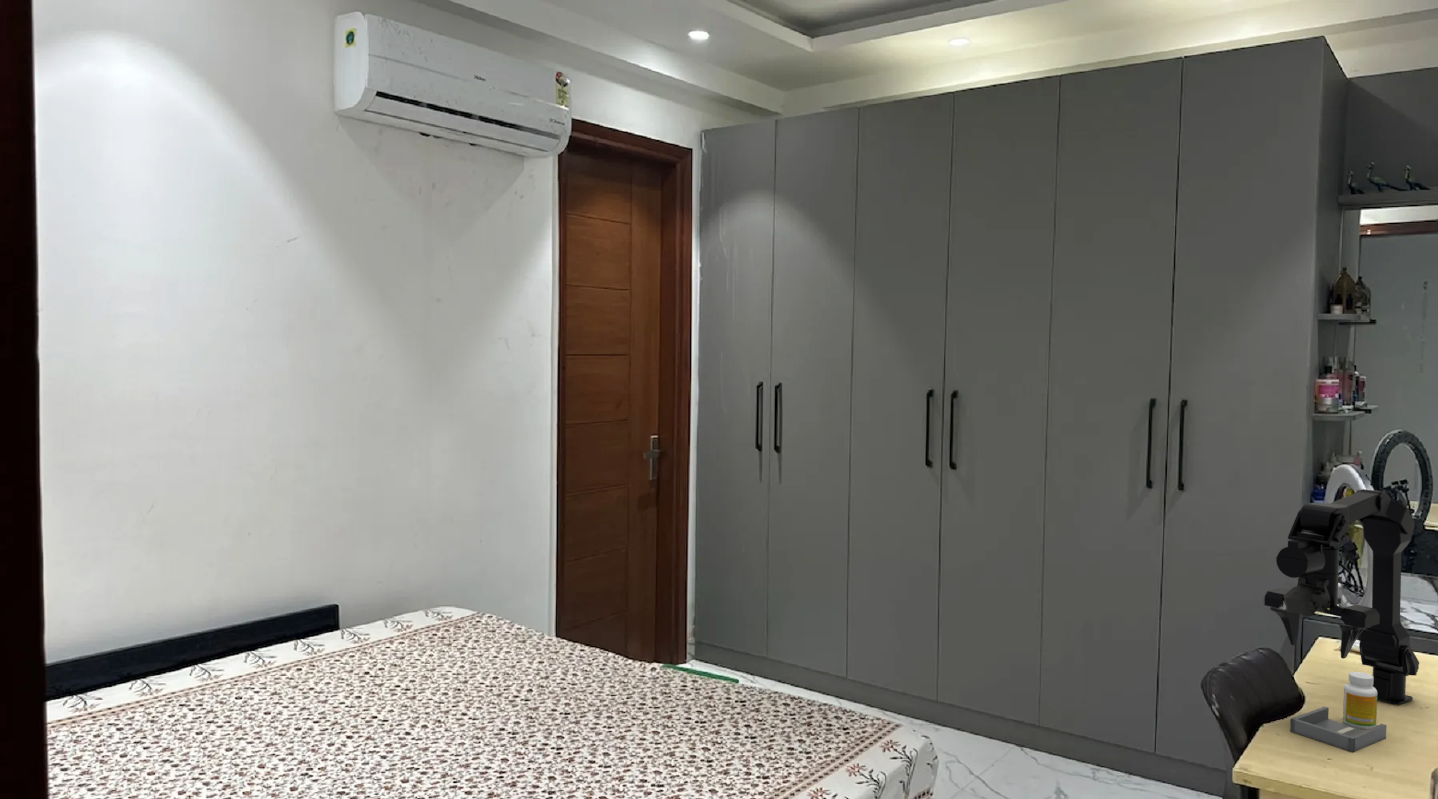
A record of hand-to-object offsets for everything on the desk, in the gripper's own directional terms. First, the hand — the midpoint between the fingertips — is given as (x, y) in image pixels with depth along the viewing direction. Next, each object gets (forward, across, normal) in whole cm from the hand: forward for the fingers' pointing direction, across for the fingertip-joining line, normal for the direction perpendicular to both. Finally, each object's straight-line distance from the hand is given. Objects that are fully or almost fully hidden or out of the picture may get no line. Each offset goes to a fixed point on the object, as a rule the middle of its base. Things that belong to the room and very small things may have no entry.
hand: (1318, 651), depth 186 cm
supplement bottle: (+15, +4, +8) cm, 17 cm away
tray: (+15, +4, -1) cm, 15 cm away
